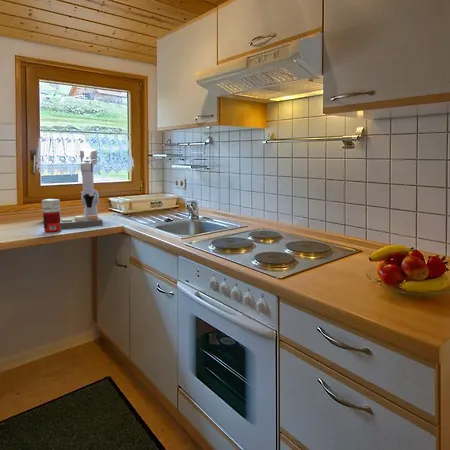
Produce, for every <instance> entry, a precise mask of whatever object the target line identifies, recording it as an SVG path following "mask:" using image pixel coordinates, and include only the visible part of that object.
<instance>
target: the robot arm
mask: <svg viewBox="0 0 450 450" xmlns="http://www.w3.org/2000/svg"><path fill="white" fill-rule="evenodd" d="M79 157H80V158H79V159H80V162H81V163H80V172H81V176H82V177H81V179H82V180H81V181H82V191H80V193H81V195H80V197H81V199H80V200H81V204H82V205H83V206H84V208H83V216H84V217H85V218H88V215H97V217H98V205H99V204H100V195H99V191H98V190H97V189H95V188H94V187H95V186H94V185H95V183H94V167H95V165H97V164H98V149H96V148H80V149H79ZM98 218H99V217H98Z"/></svg>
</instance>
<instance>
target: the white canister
mask: <svg viewBox="0 0 450 450" xmlns="http://www.w3.org/2000/svg"><path fill="white" fill-rule="evenodd" d="M60 200H61V199H58V198H57V199H56V198H47V199H42V200H41V209H42V212H43V211H44V210H53V209H56V210H59V211H60V212H61V202H60ZM42 220H43V219H42ZM60 220H62V218H61V213H60ZM43 222H44V220H43Z"/></svg>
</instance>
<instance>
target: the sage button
mask: <svg viewBox="0 0 450 450" xmlns="http://www.w3.org/2000/svg"><path fill="white" fill-rule="evenodd" d="M71 219H72V218H61V220H62V222H70V221H72V220H71Z"/></svg>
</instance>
